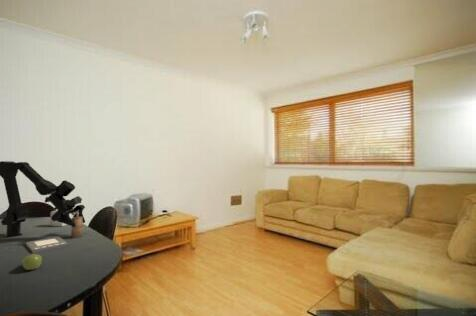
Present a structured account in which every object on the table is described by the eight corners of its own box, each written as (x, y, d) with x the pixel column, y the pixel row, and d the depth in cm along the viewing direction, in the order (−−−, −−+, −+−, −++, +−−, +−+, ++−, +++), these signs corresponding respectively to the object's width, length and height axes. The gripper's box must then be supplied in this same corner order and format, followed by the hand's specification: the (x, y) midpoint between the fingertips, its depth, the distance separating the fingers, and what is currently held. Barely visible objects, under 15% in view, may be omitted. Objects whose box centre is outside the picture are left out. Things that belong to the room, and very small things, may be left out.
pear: (21, 257, 90) (23, 253, 98) (21, 273, 89) (23, 268, 97) (41, 253, 93) (42, 250, 101) (41, 269, 93) (41, 264, 100)
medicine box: (67, 224, 158) (67, 210, 159) (61, 226, 154) (62, 212, 154) (55, 224, 159) (56, 210, 159) (49, 226, 155) (50, 211, 155)
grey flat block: (25, 244, 120) (25, 241, 120) (58, 238, 130) (58, 236, 130) (32, 253, 109) (33, 249, 109) (68, 246, 119) (68, 243, 119)
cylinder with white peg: (70, 236, 134) (70, 211, 134) (80, 234, 137) (81, 210, 138) (72, 238, 131) (73, 213, 131) (83, 236, 134) (84, 211, 134)
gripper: (57, 194, 125) (79, 217, 125) (82, 190, 144) (100, 210, 143) (41, 209, 125) (62, 233, 125) (68, 203, 144) (86, 224, 143)
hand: (79, 224), depth 134 cm, fingers open, 8 cm apart
